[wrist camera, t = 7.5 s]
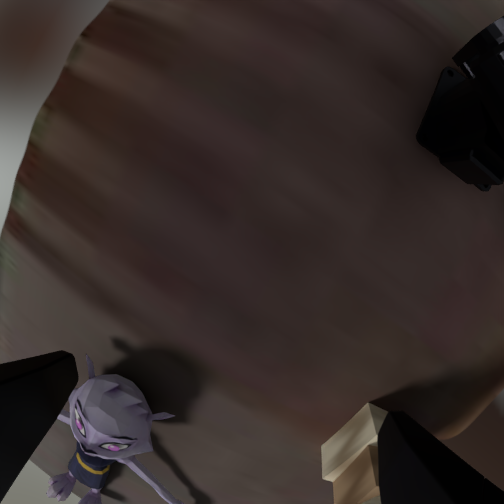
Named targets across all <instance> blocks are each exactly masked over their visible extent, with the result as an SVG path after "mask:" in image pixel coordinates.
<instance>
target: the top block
mask: <svg viewBox="0 0 504 504" xmlns="http://www.w3.org/2000/svg"><path fill="white" fill-rule="evenodd" d="M333 490H334V504H362V503H364V502H365V501H367V500H369V499H371V498H374V497H376V496H379V495H380V491H379V478H378V446H372V445H367V446H366V448H365V449H364V450H363V451H362V452H361V453H360V454H359V455H358V457H357V458H356V459H355V460H354V461H353V462H352V463H351V464H350V465H349V466H348V467H347V468H346V469H345V470H344V471H343V472H342V473H341V474H340V475H339V476H338V477H337V478H336V479H335V480H334V481H333Z"/></svg>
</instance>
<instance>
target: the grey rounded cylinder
mask: <svg viewBox="0 0 504 504" xmlns="http://www.w3.org/2000/svg"><path fill="white" fill-rule="evenodd" d="M362 504H381V499H380V495H379V496H376V497H374V498H371V499H369V500H367V501H365V502H364V503H362Z"/></svg>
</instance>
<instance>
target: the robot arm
mask: <svg viewBox="0 0 504 504" xmlns="http://www.w3.org/2000/svg"><path fill="white" fill-rule="evenodd" d="M452 59H453V61H454V62H455V63H456V65H457V66H458V67H459V66H460V67H461V69H462V70H463V72H464V73H465V74H466V76H467V77H468V78H467V79H466V78H465V77H464V76H462V75H461V74H460V73H458V72H457V71H456V70H454V69H453V68H451V67H446V68H444V69H443V70H442V73H441V76H440V78H439V81H438V83H437V86H436V89H435V91H434V94H433V96H432V99H431V101H430V104H429V106H428V109H427V111H426V113H425V116H424V118H423V120H422V123H421V125H420V127H419V130H418V132H417V135H416V139H417V141H418V143H419V144H420V145H422V146H423V147H425V148H426V149H427V150H429V151H430V152H432V153H433V154H434V155H436V156H437V157H439V161H440V163H441V164H442V165H443V166H445V167H446V168H447V169H449V170H450V171H451V172H453V173H454V174H455V175H456V176H458V177H459V178H460V179H462V180H463V181H464V182H465V183H467V184H474V185H475V186H476V187H477V188H478V189H480V190H481V191H489V190H490V188H491V185H500V184H503V181H504V16H503V17H501V18H500V19H498V20H497V21H495V22H493V23H492V24H490V25H489V26H488V27H486V28H485V29H483V30H482V31H481V32H479V33H478V34H477V35H475V36H474V37H473V38H472V39H471V40H470V41H469V42H468V43H467V44H466V45H465V46H464V47H463V48H462V49H461V50H460V51H459V52H458V53H457V54H456V55H455V56H454V57H452ZM447 72H449V73H450V74H451V76H449V75H448V73H447ZM423 134H424V135H425V136H426V141H424V140H423V139H422V135H423ZM483 184H486V185H485V187H484V186H483ZM77 382H78V371H77V367H76V362H75V357H74V356H73V354H71V353H69V352H66V351H63V350H61V351H56V352H52V353H48V354H44V355H39V356H35V357H30V358H26V359H21V360H17V361H12V362H7V363H3V364H0V503H1V501H2V500H3V498H4V496H5V495H6V493H7V492H8V490H9V489H10V487H11V486H12V484H13V482H14V481H15V479H16V478H17V476H18V475H19V473H20V471H21V470H22V469H23V467H24V465H25V464H26V463H27V461H28V460H29V458H30V457H31V455H32V454H33V452H34V451H35V449H36V448H37V446H38V445H39V444H40V442H41V441H42V439H43V438H44V436H45V435H46V433H47V432H48V431H49V429H50V428H51V426H52V425H53V424H54V422H55V421H56V419H57V418H58V416H59V414H60V413H61V411H62V409H63V407H64V405H65V404H66V402H67V400H68V398H69V397H70V395H71V393H72V391H73V390H74V388H75V386H76V385H77ZM377 445H378V478H379V491H380V499H381V504H504V491H503V490H501V489H500V488H498V487H497V486H496V485H494V484H493V483H492V482H491V481H489V480H488V479H487V478H485V479H484V476H483V475H482V474H480V473H479V472H478V471H476V470H475V469H474V468H473V467H471V466H470V465H469V464H468V463H466V462H465V461H464V460H463V459H461V458H460V457H459V456H458V455H456V454H455V453H454V452H453V451H452V450H450V449H449V448H448V447H447V446H445V445H444V444H443V443H442V442H440V441H439V440H438V439H437V438H436V437H434V436H433V435H432V434H431V433H429V432H428V431H427V430H426V429H425V428H423V427H422V426H421V425H420V424H418V423H417V422H416V421H415V420H414V419H412V418H411V417H410V416H409V415H408V414H406V413H405V412H404V411H389V412H388V413H387V415H386V417H385V419H384V421H383V424H382V426H381V428H380V430H379V432H378V437H377Z"/></svg>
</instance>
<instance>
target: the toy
mask: <svg viewBox="0 0 504 504" xmlns="http://www.w3.org/2000/svg"><path fill="white" fill-rule="evenodd" d="M86 358H87V364H88V372H89V380H87V381H86V382H85V383H84V384H83V385H82V386H81V387H80V388H76V389H74V390H73V391H72V393H71V395H70V397H69V403H70V413H69V412H67V411H65V410H63V409H62V411H61V413H60V414H59V416H58V418H57V419H59V420H61V421H63V422H65V423H67V424H69V425H71V428H72V431H73V434H74V437H75V438H76V439H77V450H76V452H75V454H74V456H73V457H72V459H71V460H70V461H69V465H68V469H69V472H67V473H64V474H60V475H56V476H54V477H51V478H50V479H49V481H48V483H49V484H50V485H51V486H50V487H49V488H48V490H47V493H46V494H47V496H48V497H54V498H55V497H56V496H57V495H58V494H59V495H58V496H57V497H58V501H64V500H66V498H68V496H69V495H70V493H71V491H72V489H73V487H74V485H75V482H76V479H77V480H78V481H80V482H81V483H83V484H84V485H86V486H88V487H90V488H92V489H91V490H89V492H88V493H87V494H86V495H85V496H84V497H83V498H82V499H81V500H80V501H79V503H78V504H102V503H101V493H100V490H101V489H102V487H104V485H105V481H106V478H107V476H108V474H109V472H110V467H111V464H112V463H114V462H115V461H118V462H121V463H124V464H126V465H128V466H129V467H130V468H131V469H132V470H133V471H134V472H135V473H136V474H138V475H139V476H140V477H141V478H142V479H144V480H145V481H146V482H147V483H148V484H150V485H151V486H152V487H153V488H154V489H155V490H156V491H157V493H158V494H159V495H160V496H161V497H162V498H163V499H164V500H166V501H167V502H168V503H169V504H184V503H183V502H181V501H179V500H177V499H175V498H174V496H173V495H172V494H171V493H170V492H169V491H168V490H167V489H166V488H165V487H164V486H163V485H162V484H161V483H160V482H159V481H158V479H157V478H156V477H155V476H154V475H153V474H152V473H151V472H150V471H149V470H148V469H147V468H146V467H145V466H144V465H143V464H141V463H140V462H139V461H138V460H137V459H136V458H135V456H134V455H135V454H140V453H145V452H151V451H153V446H152V441H151V436H150V430H151V425H152V420H163V419H167V418H170V417H174V416H175V415H172V414H169V413H166V412H162V413H157V414H152V412H151V410H150V408H149V406H148V404H147V401H146V399H145V397H144V395H143V393H142V392H141V391H140V389H139V388H138V387H137V386H136V385H135V384H134V383H133V382H132V381H130V380H128V379H126V378H124V377H122V376H120V375H117V374H110V375H99V376H96V377H95V373H94V366H93V362H92V361H91V359H90V358H89V357H88V355H87V354H86Z"/></svg>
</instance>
